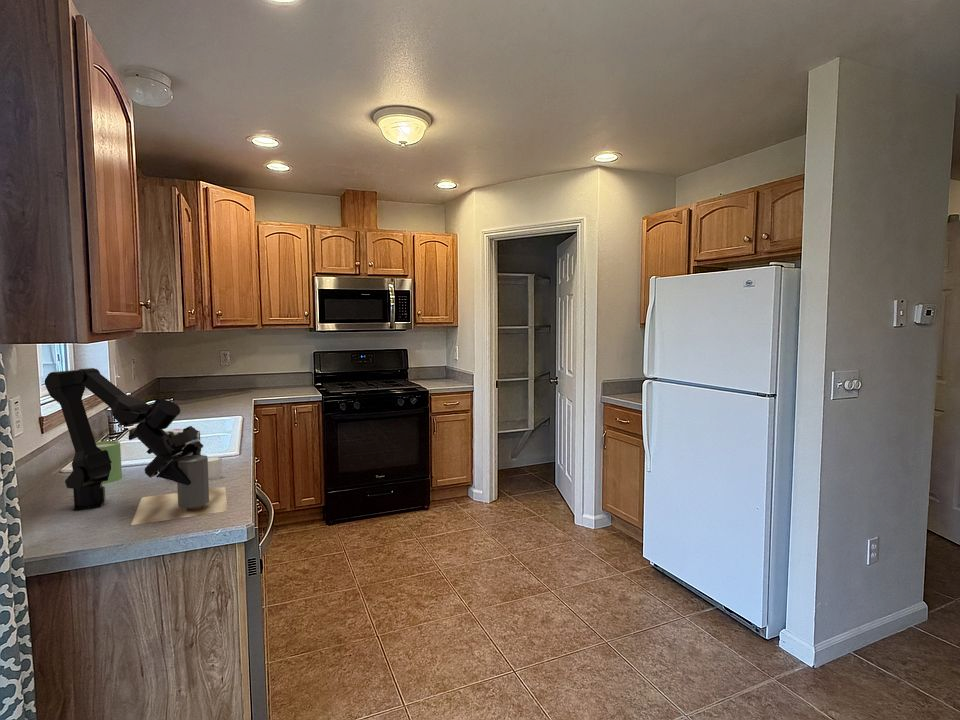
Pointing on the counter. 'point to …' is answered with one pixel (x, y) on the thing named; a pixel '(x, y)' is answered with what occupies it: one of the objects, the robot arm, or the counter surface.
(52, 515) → the counter surface
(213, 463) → the off-white short cylinder
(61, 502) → the counter surface
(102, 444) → the mug
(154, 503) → the birch board
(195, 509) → the brown round knob
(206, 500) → the grey cylinder
